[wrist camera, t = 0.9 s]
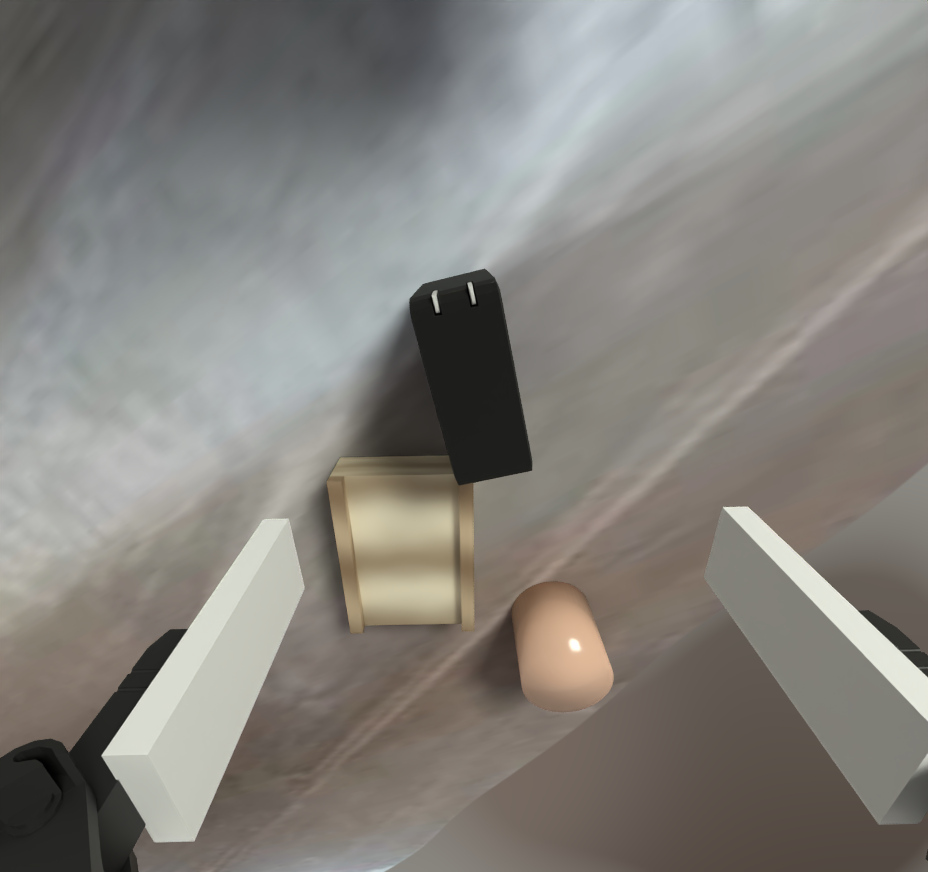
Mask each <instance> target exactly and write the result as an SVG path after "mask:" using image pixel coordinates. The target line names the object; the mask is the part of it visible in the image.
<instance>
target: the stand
mask: <svg viewBox="0 0 928 872" xmlns="http://www.w3.org/2000/svg"><path fill="white" fill-rule="evenodd" d="M327 488H328V494H329V500H330V507H331V513H332V519H333V526H334V532H335V538H336V544H337V551H338V557H339V563H340V570H341V576H342V582H343V588H344V595H345V601H346V607H347V614H348V620H349V626H350V632H351V634H353V633H363V632H364V627H365V625H414V624H462V631H474V511H473V483H469V484H465V485H460V486H459V485H458V483H457V481H456V479H455V476H454V473H453V470H452V466H451V462H450V459H449V455H445V456H388V457H340V459H339V461H338V462H337V464H336V466H335V468H334V470H333V471H332V473H331V475H330V477H329V479H328V480H327Z"/></svg>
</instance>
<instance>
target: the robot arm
mask: <svg viewBox="0 0 928 872" xmlns="http://www.w3.org/2000/svg"><path fill="white" fill-rule="evenodd" d="M704 579H705V580H706V582H707V583H708V584H709V586H710V587H711V589H712V590H713V591H714V593H715V594H716V596H717V597H718V598H719V600H720V601H721V603H722V604H723V606H724V607H725V608H726V610H727V611H728V613H729V614H730V615H731V617H732V618H733V620H734V621H735V622H736V624H737V625H738V627H739V628H740V629H741V631H742V632H743V634H744V635H745V637H746V638H747V639H748V641H749V642H750V644H751V645H752V646H753V648H754V649H755V651H756V652H757V653H758V655H759V656H760V658H761V659H762V661H763V662H764V663H765V665H766V666H767V668H768V669H769V670H770V672H771V673H772V675H773V676H774V677H775V679H776V680H777V682H778V683H779V685H780V686H781V687H782V689H783V690H784V691H785V693H786V694H787V696H788V697H789V699H790V700H791V701H792V703H793V704H794V706H795V707H796V708H797V710H798V711H799V713H800V714H801V715H802V717H803V718H804V720H805V721H806V723H807V724H808V725H809V727H810V728H811V730H812V731H813V732H814V734H815V735H816V737H817V738H818V739H819V741H820V742H821V744H822V745H823V746H824V748H825V749H826V751H827V752H828V753H829V755H830V756H831V758H832V759H833V761H834V762H835V763H836V765H837V766H838V768H839V769H840V771H841V772H842V773H843V774H844V776H845V778H846V779H847V780H848V782H849V783H850V784H851V786H852V787H853V789H854V790H855V792H856V793H857V794H858V796H859V797H860V798H861V800H862V802H863V803H864V804H865V806H866V807H867V809H868V810H869V811H870V813H871V814H872V816H873V817H874V818H875V820H876V821H877V823H878V824H914V823H917V824H918V823H920V821H921V820H922V819H923V817H924V816H925V815H926V813H927V812H928V656H927V654H925V653H924V652H921V651H920V648H919V647H918V646H917V645H915V644H914V643H913V642H912V641H911V640H910V639H909V638H908V637H906V635H904V634H903V633H902V632H901V631H900V630H899V629H898V628H896V627H895V626H893V625H892V624H890V623H888V622H887V621H885V620H883V619H882V618H880V617H879V616H877V615H875V614H874V613H872V612H870V611H869V610H867V611H857V610H856V609H855V608H854V607H853V606H852V605H851V604H850V603H849V602H848V601H847V600H846V599H845V598H843V597H842V596H841V595H840V594H839V593H838V592H837V591H836V590H835V589H834V588H833V587H832V586H831V585H830V584H829V583H828V582H827V581H826V580H825V579H823V578H822V577H821V576H820V575H819V574H818V573H817V572H816V571H815V570H814V569H813V568H812V567H811V566H810V565H809V564H808V563H807V562H805V561H804V560H803V559H802V558H801V557H800V556H799V555H798V554H797V553H796V552H795V551H794V550H793V549H792V548H791V547H790V546H789V545H788V544H787V543H786V542H785V541H783V540H782V539H781V538H780V537H779V536H778V535H777V534H776V533H775V532H774V531H773V530H772V529H771V528H770V527H769V526H768V525H767V524H766V523H765V522H763V521H762V520H761V519H760V518H759V517H758V516H757V515H756V514H755V513H754V512H753V511H752V510H751V509H750V508H749V507H722V511H721V515H720V519H719V522H718V526H717V530H716V534H715V537H714V541H713V545H712V549H711V553H710V556H709V560H708V564H707V568H706V572H705V575H704ZM304 589H305V587H304V583H303V578H302V574H301V570H300V566H299V561H298V557H297V553H296V548H295V544H294V540H293V535H292V531H291V527H290V522H289V519H263V521H262V522H261V523H260V525H259V526H258V528H257V529H256V531H255V532H254V534H253V535H252V537H251V538H250V540H249V541H248V542H247V544H246V545H245V547H244V548H243V550H242V551H241V553H240V554H239V556H238V557H237V559H236V560H235V561H234V563H233V564H232V566H231V567H230V569H229V570H228V572H227V573H226V575H225V576H224V578H223V579H222V580H221V582H220V583H219V585H218V586H217V588H216V589H215V591H214V592H213V594H212V595H211V596H210V598H209V599H208V601H207V602H206V604H205V605H204V607H203V608H202V610H201V611H200V613H199V614H198V615H197V617H196V618H195V620H194V621H193V623H192V624H191V626H190V627H189V629H172V630H169V631H168V632H167V633H165V634H164V635H163V636H162V637H161V638H159V639H158V640H157V641H156V642H155V643H153V644H152V645H151V646H150V647H149V648H147V650H146V651H145V652H144V654H143V655H142V656H141V658H140V659H139V660H138V662H137V663H136V664H135V666H134V667H133V668H132V672H131V674H128V675H127V676H126V678H125V679H124V680H123V682H122V683H121V684H120V686H119V687H118V691H117V692H114V694H113V695H112V696H111V698H110V699H109V700H108V702H107V703H106V704H105V706H104V707H103V708H102V710H101V711H100V712H99V714H98V715H97V716H96V718H95V719H94V720H93V722H92V723H91V724H90V726H89V727H88V728H87V730H86V731H85V732H84V734H83V735H82V736H81V738H80V739H79V740H78V742H77V743H76V744H75V746H74V747H73V748H72V750H71V751H70V752H69V753H68V751H67V750H66V748H65V746H64V745H63V743H61V742H59V741H56V740H53V739H45V740H37V741H33V742H31V743H28V744H26V745H23V746H21V747H18V748H16V749H14V750H12V751H11V752H9V753H7V754H6V755H4V756H3V757H1V758H0V872H138V865H137V858H136V856H135V854H134V852H133V850H132V849H133V847H134V846H135V844H136V842H137V840H138V838H139V836H140V834H141V832H142V831H143V829H144V827H145V828H146V829H147V831H148V833H149V834H150V836H151V837H152V839H153V841H154V842H188V841H195V839H196V836H197V834H198V832H199V829H200V827H201V825H202V823H203V820H204V818H205V816H206V813H207V811H208V809H209V807H210V804H211V802H212V800H213V797H214V795H215V793H216V790H217V788H218V786H219V784H220V781H221V779H222V777H223V774H224V772H225V770H226V768H227V765H228V763H229V761H230V758H231V756H232V754H233V751H234V749H235V747H236V745H237V742H238V740H239V738H240V735H241V733H242V731H243V729H244V726H245V724H246V722H247V719H248V717H249V715H250V712H251V710H252V708H253V706H254V703H255V701H256V699H257V696H258V694H259V692H260V690H261V687H262V685H263V683H264V680H265V678H266V676H267V673H268V671H269V669H270V667H271V664H272V662H273V660H274V657H275V655H276V653H277V651H278V648H279V646H280V644H281V641H282V639H283V637H284V634H285V632H286V630H287V628H288V625H289V623H290V621H291V618H292V616H293V614H294V612H295V609H296V607H297V605H298V602H299V600H300V598H301V595H302V593H303V591H304ZM926 860H928V851H927V855H926Z"/></svg>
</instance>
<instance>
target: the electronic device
mask: <svg viewBox="0 0 928 872" xmlns="http://www.w3.org/2000/svg"><path fill="white" fill-rule="evenodd" d="M409 303H410V314H411V319H412V323H413V327H414V330H415V334H416V338H417V341H418V345H419V349H420V352H421V356H422V360H423V363H424V367H425V371H426V374H427V378H428V382H429V385H430V389H431V393H432V396H433V400H434V404H435V407H436V411H437V415H438V418H439V422H440V426H441V429H442V433H443V437H444V440H445V444H446V448H447V451H448V455H449V459H450V462H451V466H452V470H453V473H454V476H455V479H456V481H457V483H458V485H459V486H460V485H465V484H469V483H474V482H479V481H484V480H489V479H494V478H499V477H503V476H508V475H513V474H518V473H523V472H528V471H532V457H531V452H530V446H529V441H528V436H527V430H526V425H525V420H524V415H523V409H522V404H521V399H520V393H519V388H518V383H517V377H516V372H515V367H514V361H513V356H512V351H511V346H510V340H509V335H508V330H507V324H506V319H505V314H504V308H503V303H502V298H501V293H500V289H499V286H498V284H497V282H496V280H495V278H494V277H493V276H492V275H491V274H490V273H489V272H488V271H487V270H486V269H482V270H478V271H474V272H470V273H466V274H462V275H458V276H453V277H449V278H445V279H441V280H437V281H433V282H429V283H425V284H423V285H422V286H421V287H420V288H419V289H418V290H417V291H416V292H415V293H414V294H413V296H412V297H411V298H410V302H409Z"/></svg>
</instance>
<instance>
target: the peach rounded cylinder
mask: <svg viewBox="0 0 928 872" xmlns="http://www.w3.org/2000/svg"><path fill="white" fill-rule="evenodd" d="M512 621H513V629H514V636H515V643H516V650H517V657H518V664H519V671H520V678H521V685H522V690H523V693H524V695H525V696H526V698H527V699H528V700H529V701H530V702H531V703H532V704H534V705H536V706H537V707H539V708H542V709H544V710H548V711H552V712H573V711H578V710H582V709H585V708H587V707H590V706H592V705H594V704H596V703H597V702H599V701H600V700H601V699H602V698H604V697H605V695H606V694H607V693H608V692H609V690H610V689H611V686H612V684H613V678H614V676H613V671H612V668H611V665H610V662H609V659H608V657H607V654H606V651H605V648H604V645H603V643H602V640H601V637H600V634H599V632H598V629H597V626H596V623H595V620H594V618H593V615H592V612H591V609H590V607H589V604H588V601H587V599H586V597H585V595H584V594H583V593H582V592H581V591H580V590H579V589H578V588H576V587H574V586H572V585H570V584H567V583H563V582H544V583H540V584H537V585H534V586H532V587H530V588H528V589H526V590H525V591H524V592H522V593H521V594H520V595H519V596H518V597H517V599H516V600H515V602H514V604H513V607H512Z"/></svg>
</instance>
